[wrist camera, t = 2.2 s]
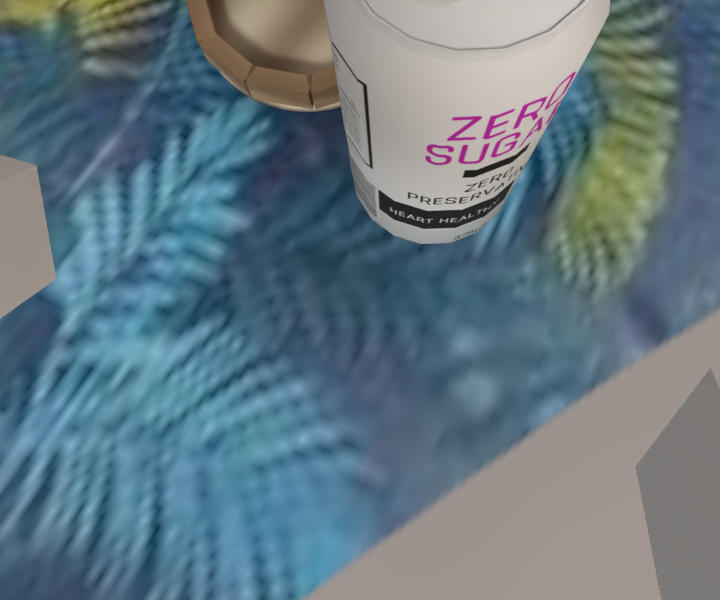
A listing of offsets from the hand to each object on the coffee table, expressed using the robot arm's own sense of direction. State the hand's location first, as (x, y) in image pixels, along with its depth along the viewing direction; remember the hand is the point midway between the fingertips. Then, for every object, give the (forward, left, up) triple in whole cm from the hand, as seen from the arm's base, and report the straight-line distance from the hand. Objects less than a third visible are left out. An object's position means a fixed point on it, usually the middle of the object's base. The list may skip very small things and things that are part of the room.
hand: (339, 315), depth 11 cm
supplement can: (+1, +11, -17) cm, 20 cm away
